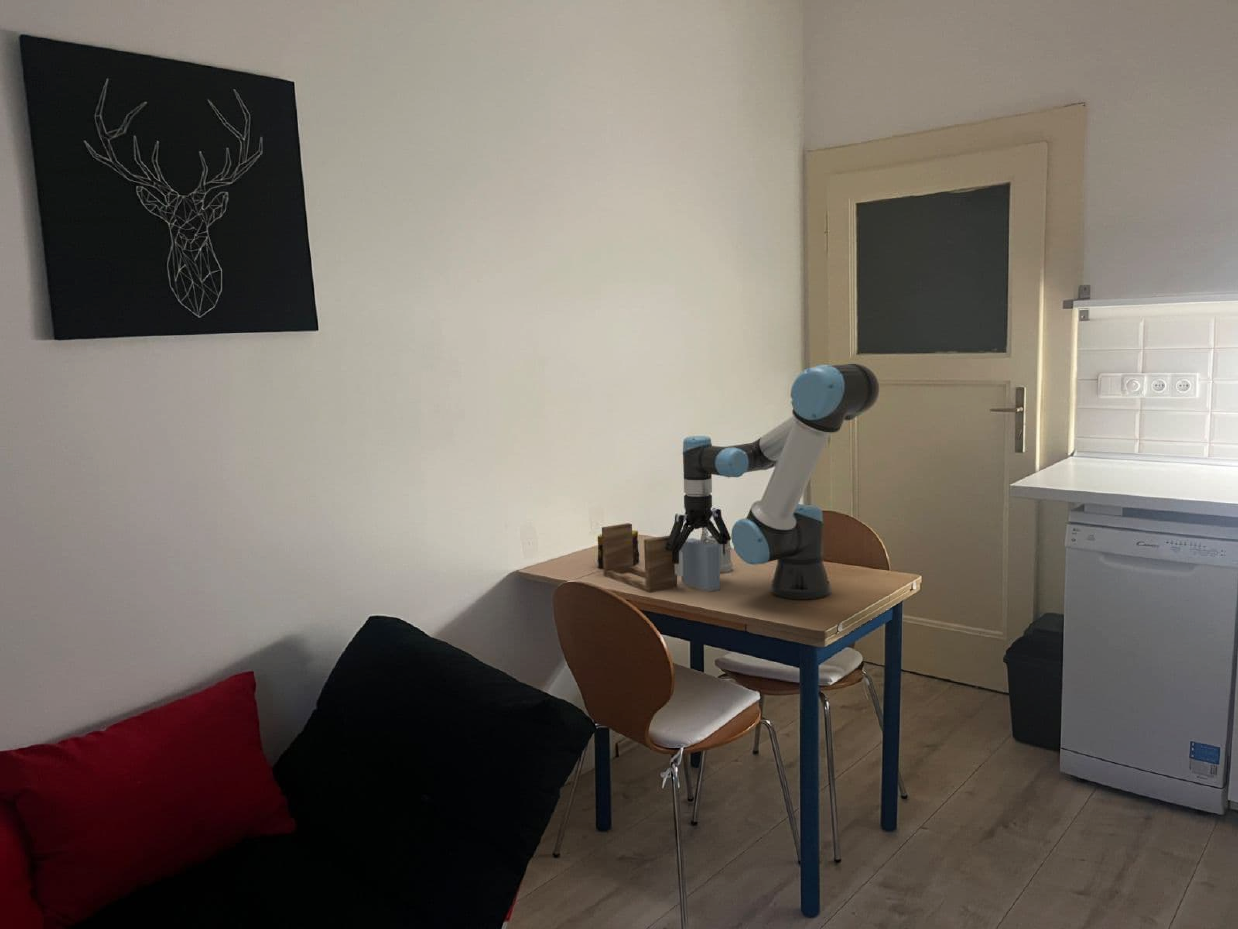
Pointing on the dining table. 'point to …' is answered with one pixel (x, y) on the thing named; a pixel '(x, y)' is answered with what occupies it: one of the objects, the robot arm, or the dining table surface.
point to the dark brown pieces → (635, 549)
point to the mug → (726, 557)
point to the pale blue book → (701, 564)
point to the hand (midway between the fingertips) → (699, 571)
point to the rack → (621, 559)
